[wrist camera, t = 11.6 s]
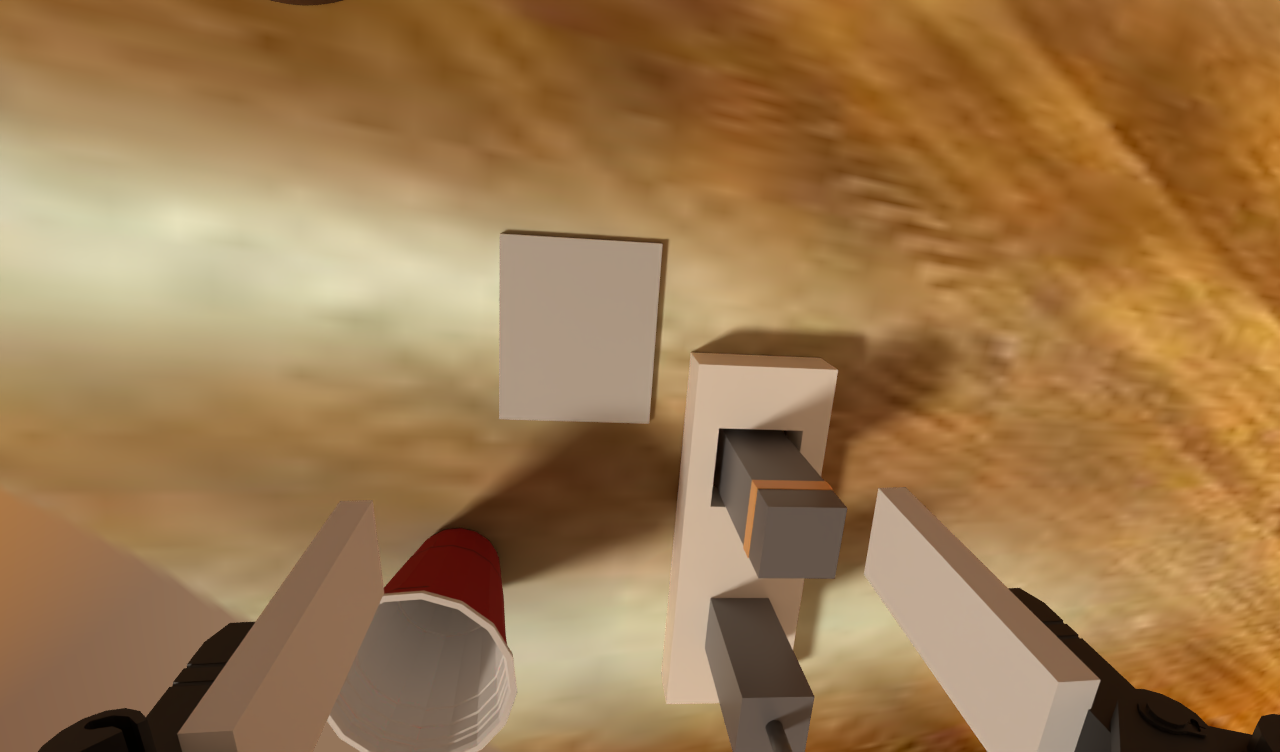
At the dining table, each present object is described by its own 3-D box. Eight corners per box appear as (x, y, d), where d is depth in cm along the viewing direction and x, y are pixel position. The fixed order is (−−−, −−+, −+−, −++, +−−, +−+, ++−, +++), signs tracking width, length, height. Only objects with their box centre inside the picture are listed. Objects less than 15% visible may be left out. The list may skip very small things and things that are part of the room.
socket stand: (690, 352, 41) (749, 437, 27) (820, 357, 42) (943, 442, 28) (661, 673, 49) (695, 875, 34) (772, 672, 50) (850, 867, 35)
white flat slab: (500, 233, 38) (499, 233, 38) (661, 243, 39) (662, 243, 39) (500, 417, 41) (499, 419, 41) (648, 421, 43) (649, 423, 42)
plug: (717, 422, 43) (767, 505, 32) (777, 424, 43) (848, 507, 32) (711, 478, 44) (757, 578, 33) (770, 480, 45) (835, 579, 33)
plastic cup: (463, 462, 42) (420, 563, 31) (564, 568, 45) (558, 695, 34) (344, 552, 43) (258, 682, 32) (450, 650, 46) (407, 801, 35)
